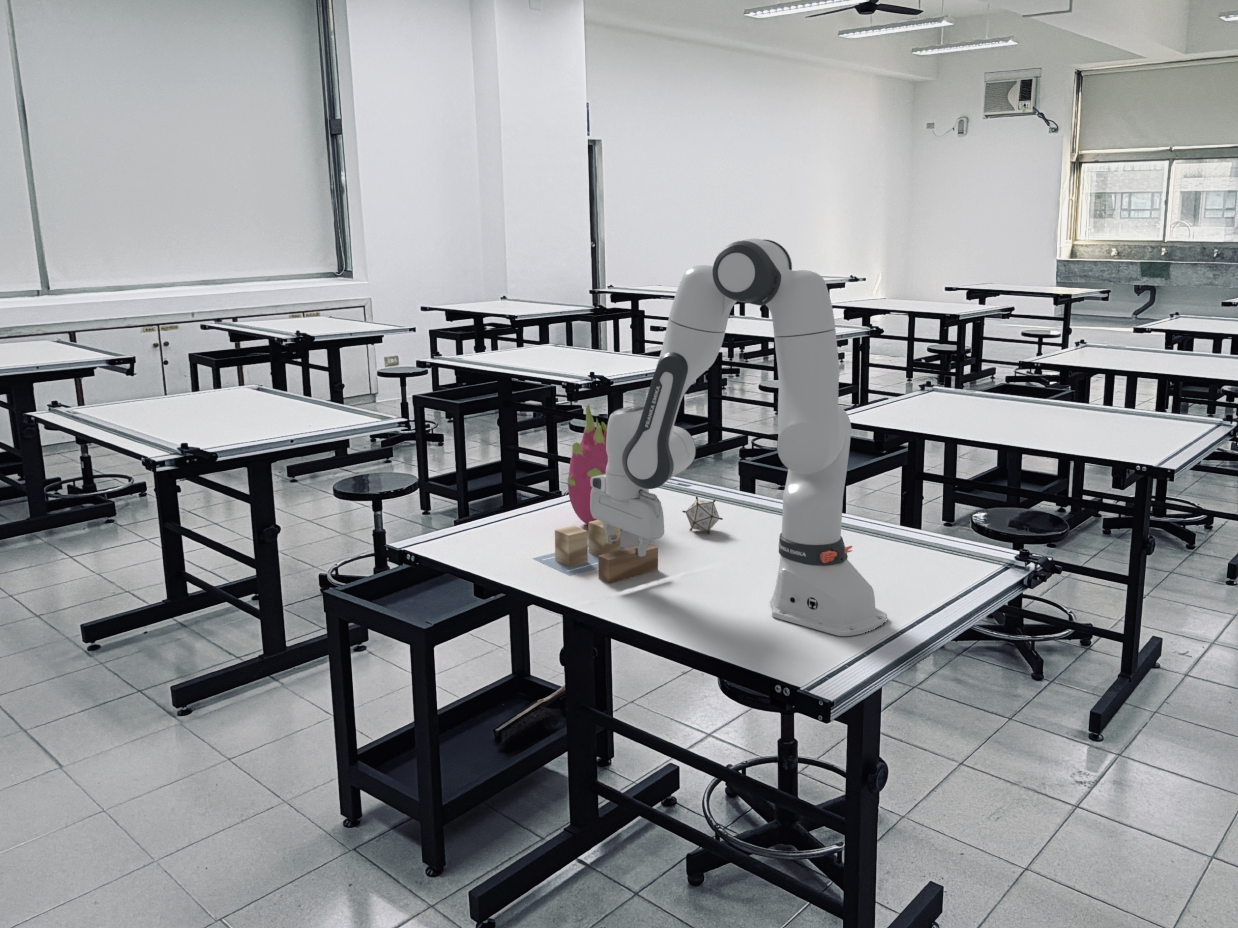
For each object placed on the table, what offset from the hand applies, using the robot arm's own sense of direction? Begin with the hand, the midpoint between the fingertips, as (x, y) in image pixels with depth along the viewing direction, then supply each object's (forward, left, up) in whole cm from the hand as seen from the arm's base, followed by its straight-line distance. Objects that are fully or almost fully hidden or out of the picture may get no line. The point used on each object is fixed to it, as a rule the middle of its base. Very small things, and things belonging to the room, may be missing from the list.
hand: (625, 549), depth 212 cm
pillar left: (+13, +4, -5) cm, 15 cm away
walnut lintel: (-1, 0, -6) cm, 6 cm away
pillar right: (+13, -5, -5) cm, 15 cm away
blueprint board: (+13, 0, -6) cm, 15 cm away
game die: (+13, -34, -6) cm, 37 cm away
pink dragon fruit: (+31, -17, -6) cm, 37 cm away
